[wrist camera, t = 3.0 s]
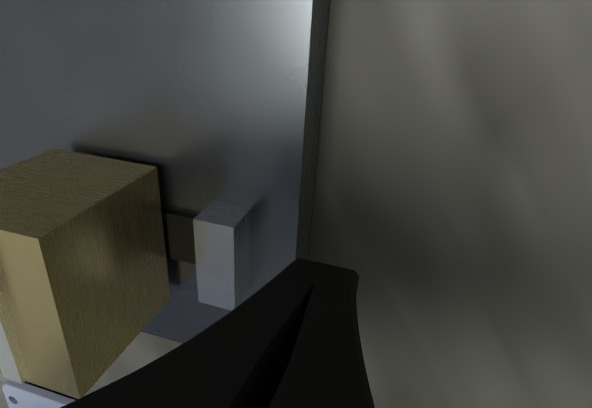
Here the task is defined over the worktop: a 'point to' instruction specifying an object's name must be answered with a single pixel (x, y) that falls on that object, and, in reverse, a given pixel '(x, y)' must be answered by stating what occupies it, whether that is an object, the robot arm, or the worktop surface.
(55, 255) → the tan striped block
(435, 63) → the worktop surface
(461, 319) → the worktop surface
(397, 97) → the worktop surface
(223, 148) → the mixer panel
